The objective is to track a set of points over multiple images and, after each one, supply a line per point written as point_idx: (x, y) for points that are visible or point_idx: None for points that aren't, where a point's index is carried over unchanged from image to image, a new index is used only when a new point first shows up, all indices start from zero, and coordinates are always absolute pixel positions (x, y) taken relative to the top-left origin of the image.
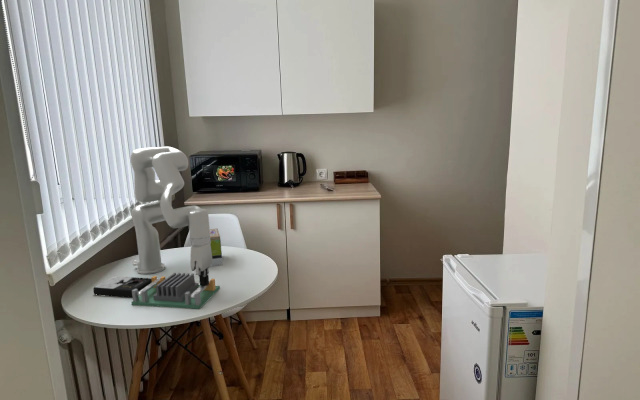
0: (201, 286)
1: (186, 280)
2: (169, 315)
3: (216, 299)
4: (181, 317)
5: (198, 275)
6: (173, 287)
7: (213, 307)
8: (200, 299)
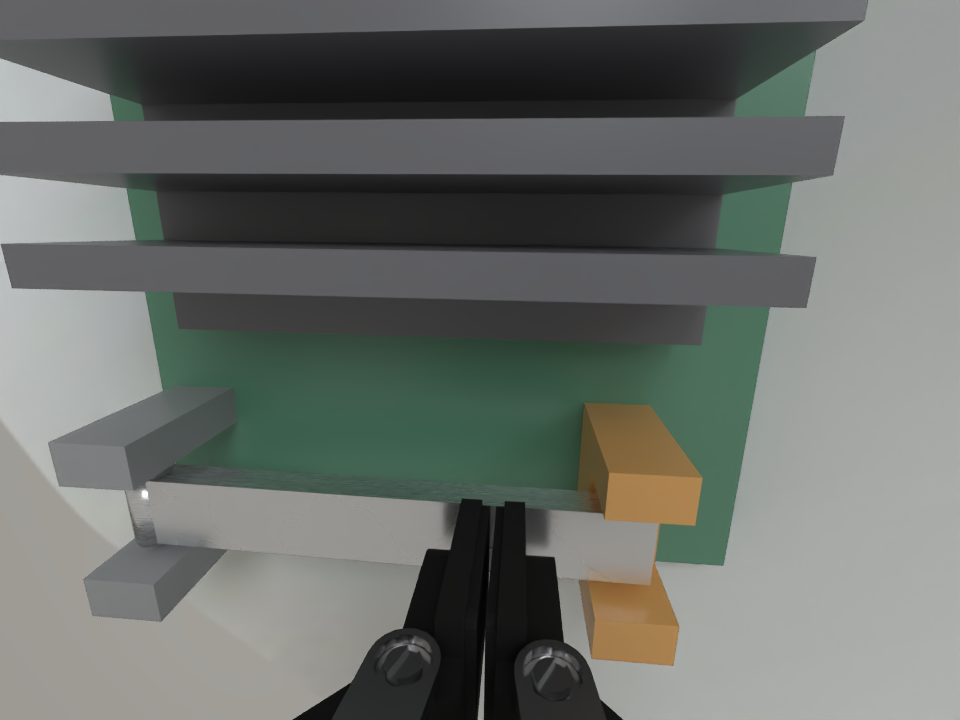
0: (432, 523)
1: (409, 295)
2: (7, 288)
3: None
4: (20, 422)
5: (366, 656)
6: (60, 177)
7: (270, 614)
8: (226, 549)
